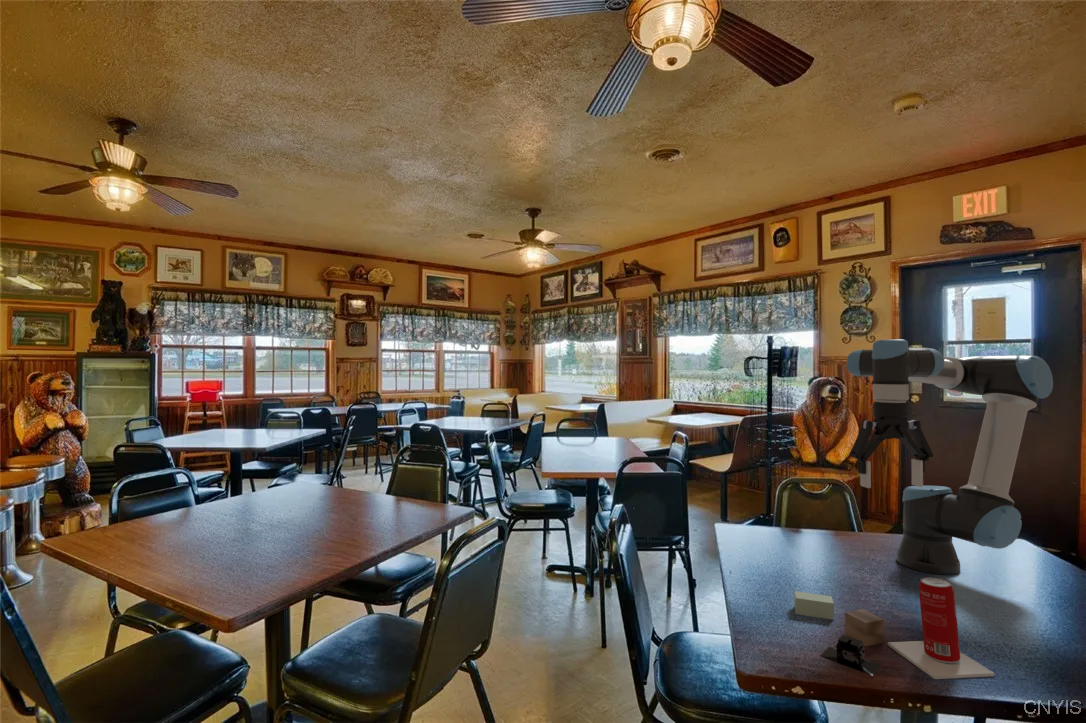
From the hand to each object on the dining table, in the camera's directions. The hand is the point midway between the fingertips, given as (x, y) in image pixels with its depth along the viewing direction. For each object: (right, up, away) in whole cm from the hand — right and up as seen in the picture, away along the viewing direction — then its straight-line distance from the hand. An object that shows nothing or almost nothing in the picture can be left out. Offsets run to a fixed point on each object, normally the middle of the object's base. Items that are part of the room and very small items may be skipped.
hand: (891, 486), depth 130 cm
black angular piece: (-26, -29, -26) cm, 47 cm away
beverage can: (-8, -28, -26) cm, 39 cm away
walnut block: (-18, -29, -18) cm, 38 cm away
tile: (-8, -28, -26) cm, 39 cm away
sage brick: (-23, -29, -6) cm, 37 cm away
